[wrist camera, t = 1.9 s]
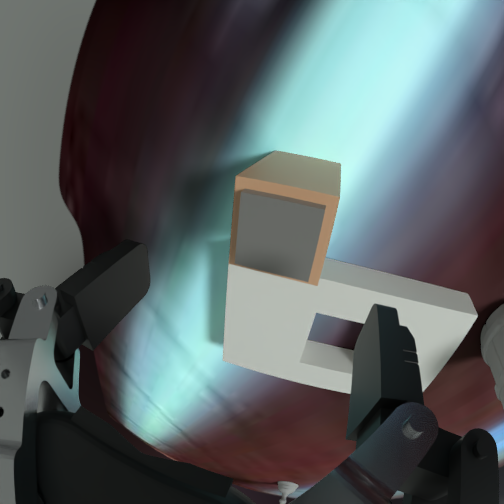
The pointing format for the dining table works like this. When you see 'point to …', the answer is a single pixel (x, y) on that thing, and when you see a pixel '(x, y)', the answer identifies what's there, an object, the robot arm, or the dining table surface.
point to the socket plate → (341, 306)
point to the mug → (495, 348)
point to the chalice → (286, 489)
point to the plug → (285, 215)
